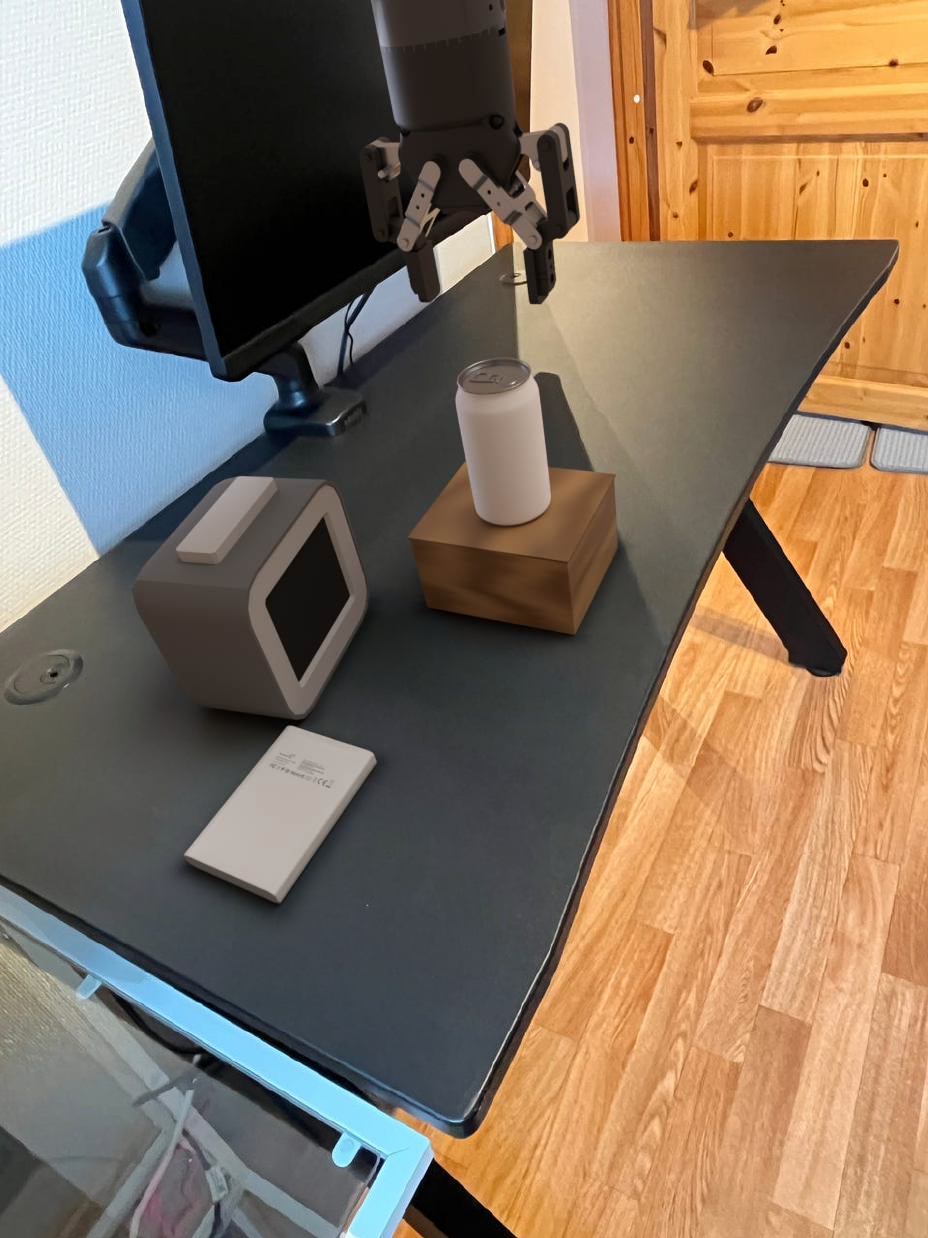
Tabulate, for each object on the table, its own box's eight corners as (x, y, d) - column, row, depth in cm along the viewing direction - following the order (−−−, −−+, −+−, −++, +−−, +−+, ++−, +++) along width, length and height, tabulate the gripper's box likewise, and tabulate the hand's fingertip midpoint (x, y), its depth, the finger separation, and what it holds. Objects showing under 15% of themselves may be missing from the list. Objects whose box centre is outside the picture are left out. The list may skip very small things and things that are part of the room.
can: (530, 535, 68) (511, 400, 60) (461, 520, 71) (435, 390, 63) (564, 490, 71) (551, 358, 64) (498, 479, 75) (477, 351, 67)
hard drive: (190, 866, 59) (292, 736, 67) (281, 907, 56) (378, 764, 63) (181, 853, 58) (286, 722, 66) (273, 894, 55) (373, 750, 62)
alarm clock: (298, 735, 67) (229, 586, 56) (180, 717, 70) (95, 574, 60) (374, 599, 78) (329, 453, 67) (269, 590, 81) (210, 451, 71)
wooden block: (619, 547, 77) (615, 473, 72) (575, 636, 70) (568, 561, 64) (480, 528, 83) (467, 458, 78) (425, 608, 76) (407, 537, 70)
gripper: (306, 53, 49) (372, 320, 60) (532, 22, 43) (560, 324, 54) (368, 25, 54) (419, 278, 65) (579, -6, 48) (597, 277, 59)
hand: (484, 299), depth 59 cm, fingers open, 8 cm apart
